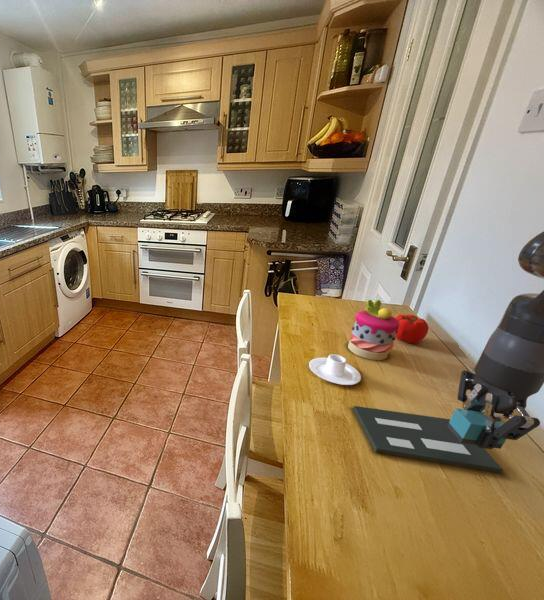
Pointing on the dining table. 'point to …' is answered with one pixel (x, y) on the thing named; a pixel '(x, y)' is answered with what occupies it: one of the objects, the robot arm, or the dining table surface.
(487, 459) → the chalkboard
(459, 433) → the eraser
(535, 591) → the dining table surface
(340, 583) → the dining table surface
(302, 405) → the dining table surface
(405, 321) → the tomato
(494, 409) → the robot arm
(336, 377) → the candle holder
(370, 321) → the cake
